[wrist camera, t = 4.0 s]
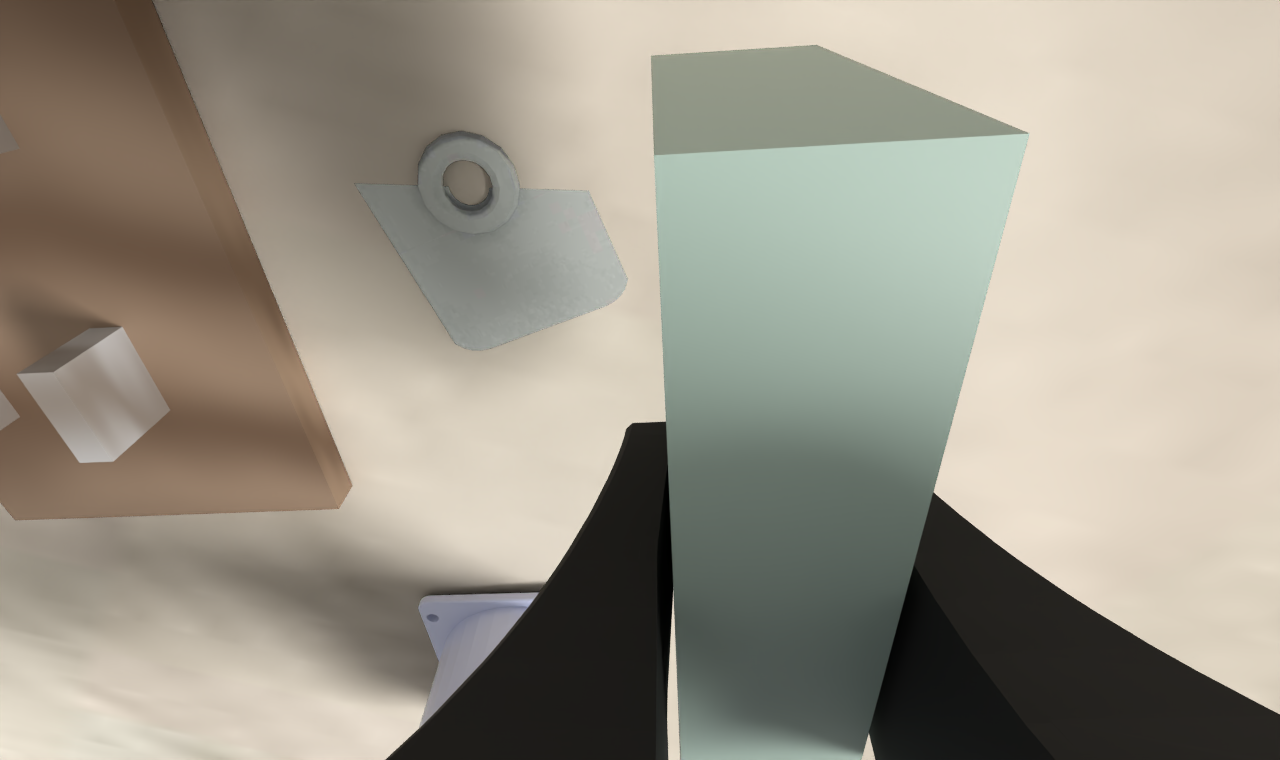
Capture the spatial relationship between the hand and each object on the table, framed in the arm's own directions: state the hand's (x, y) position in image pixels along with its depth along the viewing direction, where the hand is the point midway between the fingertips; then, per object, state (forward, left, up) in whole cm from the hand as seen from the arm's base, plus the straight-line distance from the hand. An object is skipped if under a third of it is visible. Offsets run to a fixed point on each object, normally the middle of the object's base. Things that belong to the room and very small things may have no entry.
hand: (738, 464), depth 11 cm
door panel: (0, 0, -2) cm, 2 cm away
